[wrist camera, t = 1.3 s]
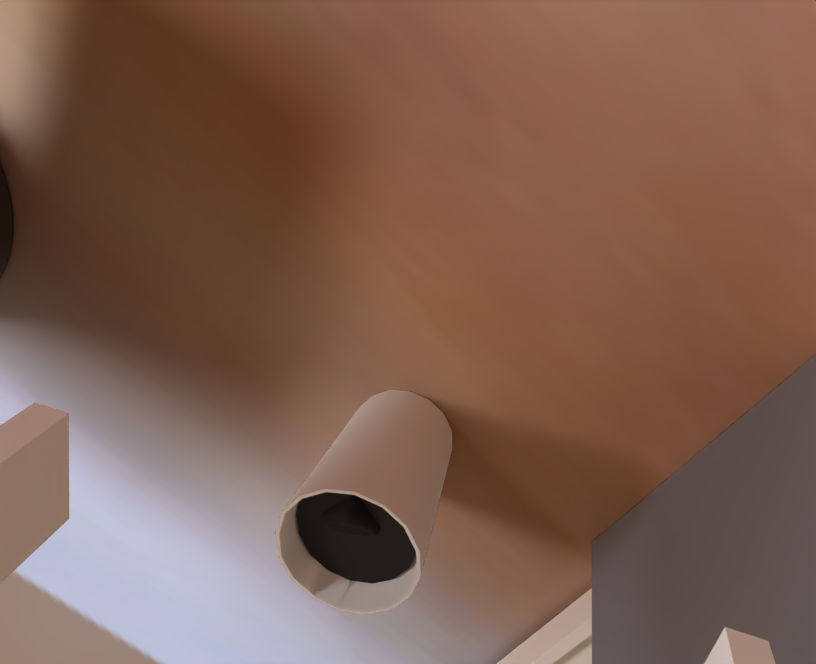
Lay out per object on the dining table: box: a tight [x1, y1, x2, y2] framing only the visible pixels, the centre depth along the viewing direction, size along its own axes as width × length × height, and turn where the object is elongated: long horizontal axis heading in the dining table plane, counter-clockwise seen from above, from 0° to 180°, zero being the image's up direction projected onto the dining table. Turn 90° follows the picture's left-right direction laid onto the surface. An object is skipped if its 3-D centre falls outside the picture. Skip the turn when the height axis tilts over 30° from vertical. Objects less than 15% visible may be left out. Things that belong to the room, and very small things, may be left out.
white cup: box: [275, 390, 452, 614], centre depth 35 cm, size 7×7×10 cm
